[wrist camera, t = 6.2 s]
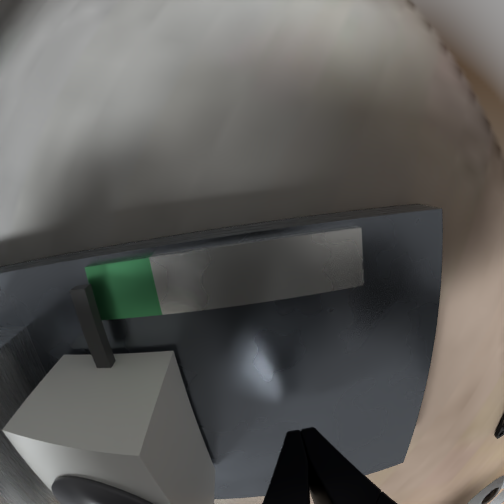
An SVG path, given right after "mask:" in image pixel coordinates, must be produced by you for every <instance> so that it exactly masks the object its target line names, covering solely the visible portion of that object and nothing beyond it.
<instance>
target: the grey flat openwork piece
mask: <svg viewBox="0 0 504 504" xmlns="http://www.w3.org/2000/svg"><path fill="white" fill-rule="evenodd" d="M501 488H504V476H501V477H499V478H497V479H496V480H494V481H493V482H492V483H490V484H489V485H488V486H486V487H485V488H484V489H483V490H481V491H480V492H479V493H478V494H477V495H475V496H474V497H473V498H472V499H471V500H470V501H469V502H468V503H467V504H487V503H488V502H490V501H491V500H492V499H493V498H494V497H495V496H496V495H497V494H498V492H499V491H500V489H501ZM493 489H494V490H493ZM486 495H487V496H486ZM503 502H504V490H503V491H502V492H501V493H500V494H499V495H498V496H497V497H496V498H495V499H494V500H493V501H492V502H491V503H490V504H501V503H503Z"/></svg>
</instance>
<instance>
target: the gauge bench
mask: <svg viewBox="0 0 504 504" xmlns="http://www.w3.org/2000/svg"><path fill="white" fill-rule="evenodd" d="M442 242H443V224H442V208H437V207H431V206H426V205H420V204H411V205H402V206H392V207H383V208H374V209H365V210H356V211H348V212H339V213H331V214H323V215H315V216H307V217H299V218H292V219H284V220H277V221H269V222H262V223H255V224H248V225H240V226H234V227H227V228H220V229H213V230H206V231H200V232H193V233H187V234H180V235H174V236H168V237H162V238H155V239H149V240H143V241H137V242H131V243H125V244H120V245H114V246H108V247H102V248H97V249H91V250H86V251H80V252H75V253H69V254H64V255H58V256H53V257H48V258H43V259H38V260H33V261H28V262H23V263H18V264H13V265H8V266H3V267H0V504H61V503H60V502H59V501H58V500H57V499H56V498H55V496H54V494H53V492H52V491H51V490H50V489H49V488H48V487H47V486H46V485H45V484H44V483H43V481H42V480H41V479H40V478H39V477H38V476H37V475H36V474H35V472H34V471H33V470H32V469H31V468H30V466H29V465H28V464H27V463H26V462H25V460H24V459H23V458H22V457H21V455H20V454H19V453H18V451H17V450H16V449H15V447H14V446H13V445H12V443H11V442H10V441H9V439H8V438H7V436H6V435H5V434H4V432H3V431H2V430H3V428H4V427H5V426H6V424H7V423H8V422H9V420H10V419H11V418H12V416H13V415H14V414H15V413H16V411H17V410H18V409H19V408H20V406H21V405H22V404H23V403H24V401H25V400H26V399H27V398H28V396H29V395H30V394H31V393H32V391H33V390H34V389H35V388H36V387H37V385H38V384H39V383H40V382H41V381H42V379H43V378H44V377H45V376H46V375H47V373H48V372H49V371H50V370H51V369H52V368H53V366H54V365H55V364H56V363H57V362H58V361H59V360H60V358H61V357H62V356H63V355H91V352H90V350H89V347H88V344H87V342H86V339H85V336H84V334H83V331H82V328H81V325H80V322H79V319H78V316H77V313H76V310H75V307H74V304H73V301H72V297H71V294H70V290H71V289H72V288H74V287H75V286H77V285H85V284H91V287H92V290H93V294H94V297H95V301H96V304H97V307H98V311H99V314H100V317H101V320H102V323H103V326H104V329H105V332H106V335H107V338H108V341H109V344H110V346H111V349H112V352H113V354H125V353H145V352H161V351H174V354H175V357H176V361H177V364H178V367H179V371H180V374H181V377H182V380H183V383H184V386H185V389H186V392H187V395H188V398H189V401H190V404H191V407H192V410H193V413H194V416H195V418H196V421H197V424H198V427H199V429H200V432H201V435H202V437H203V440H204V443H205V445H206V448H207V450H208V453H209V455H210V458H211V460H212V463H213V465H214V468H215V490H214V499H230V498H245V497H257V496H265V495H266V492H267V490H268V487H269V484H270V481H271V478H272V475H273V472H274V469H275V466H276V463H277V460H278V457H279V454H280V451H281V448H282V445H283V441H284V438H285V435H286V433H287V432H288V431H292V430H300V431H301V429H304V428H309V427H314V428H316V429H317V430H318V431H319V432H320V433H321V434H322V435H323V436H324V437H325V438H326V439H327V440H328V441H329V442H330V443H331V444H332V445H333V446H334V447H335V448H336V449H337V450H338V451H339V452H340V453H341V454H342V455H343V456H344V457H345V458H346V459H347V460H348V461H350V462H351V463H352V464H353V465H354V466H355V467H356V468H357V469H358V470H359V471H360V472H361V473H362V474H364V475H368V474H371V473H374V472H377V471H380V470H383V469H386V468H389V467H392V466H395V465H397V464H400V463H403V462H404V459H405V456H406V453H407V450H408V447H409V444H410V441H411V438H412V435H413V432H414V428H415V425H416V422H417V418H418V414H419V411H420V407H421V403H422V399H423V395H424V391H425V387H426V382H427V378H428V373H429V368H430V363H431V357H432V352H433V346H434V339H435V333H436V325H437V317H438V309H439V299H440V287H441V272H442Z"/></svg>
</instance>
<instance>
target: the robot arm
mask: <svg viewBox="0 0 504 504" xmlns="http://www.w3.org/2000/svg"><path fill="white" fill-rule="evenodd" d="M503 435H504V416H503V418H502V420H501V422H500V424H499V426H498V428H497V430H496V432H495V434H494V436H495V437H496V438H497V439H498V438H500V437H501V436H503ZM380 492H381V490H380V489H379V488H378V487H377V486H376V485H375V484H374V483H372V482H371V481H370V480H369V479H368V478H367V477H366V476H365V475H364V474H362V473H361V472H360V471H359V470H358V469H357V468H356V467H355V466H354V465H353V464H352V463H351V462H350V461H348V460H347V459H346V458H345V457H344V456H343V455H342V454H341V453H340V452H339V451H338V450H337V449H336V448H335V447H334V446H333V445H332V444H331V443H330V442H329V441H328V440H327V439H326V438H325V437H324V436H323V435H322V434H321V433H320V432H319V431H318V430H317V429H316V428H314V427H309V428H304V429H301V431H300V430H292V431H288V432H287V433H286V435H285V438H284V441H283V445H282V448H281V451H280V454H279V457H278V460H277V463H276V466H275V469H274V472H273V475H272V478H271V481H270V484H269V487H268V490H267V492H266V495H265V498H264V501H263V503H262V504H310V493H311V496H312V499H313V502H314V504H397V503H396V502H395V501H393V500H392V499H391V498H390V497H389V496H387V495H386V494H385V493H384V492H381V493H380Z"/></svg>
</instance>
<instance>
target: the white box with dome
mask: <svg viewBox="0 0 504 504" xmlns="http://www.w3.org/2000/svg"><path fill="white" fill-rule="evenodd" d="M70 294H71V297H72V301H73V304H74V307H75V310H76V313H77V316H78V319H79V322H80V325H81V328H82V331H83V334H84V336H85V339H86V342H87V344H88V347H89V350H90V352H91V355H63V356H62V357H61V358H60V360H59V361H58V362H57V363H56V364H55V365H54V366H53V368H52V369H51V370H50V371H49V372H48V373H47V375H46V376H45V377H44V378H43V379H42V381H41V382H40V383H39V384H38V385H37V387H36V388H35V389H34V390H33V391H32V393H31V394H30V395H29V396H28V398H27V399H26V400H25V401H24V403H23V404H22V405H21V406H20V408H19V409H18V410H17V411H16V413H15V414H14V415H13V416H12V418H11V419H10V420H9V422H8V423H7V424H6V426H5V427H4V428H3V430H2V431H3V432H4V434H5V435H6V436H7V438H8V439H9V441H10V442H11V443H12V445H13V446H14V447H15V449H16V450H17V451H18V453H19V454H20V455H21V457H22V458H23V459H24V460H25V462H26V463H27V464H28V465H29V466H30V468H31V469H32V470H33V471H34V472H35V474H36V475H37V476H38V477H39V478H40V479H41V480H42V481H43V483H44V484H45V485H46V486H47V487H48V488H49V489H50V490H51V491H52V492H53V494H54V496H55V498H56V499H57V500H58V501H59V502H60V503H61V504H214V490H215V468H214V465H213V463H212V460H211V458H210V455H209V453H208V450H207V448H206V445H205V443H204V440H203V437H202V435H201V432H200V429H199V427H198V424H197V421H196V418H195V416H194V413H193V410H192V407H191V404H190V401H189V398H188V395H187V392H186V389H185V386H184V383H183V380H182V377H181V374H180V371H179V367H178V364H177V361H176V357H175V354H174V351H161V352H145V353H125V354H113V352H112V349H111V346H110V344H109V341H108V338H107V335H106V332H105V329H104V326H103V323H102V320H101V317H100V314H99V311H98V307H97V304H96V301H95V297H94V294H93V290H92V287H91V284H85V285H77V286H75V287H74V288H72V289H71V290H70Z"/></svg>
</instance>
